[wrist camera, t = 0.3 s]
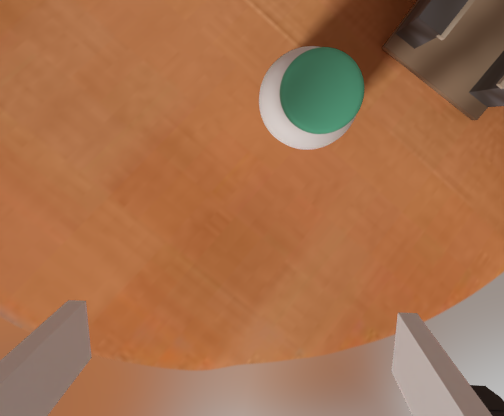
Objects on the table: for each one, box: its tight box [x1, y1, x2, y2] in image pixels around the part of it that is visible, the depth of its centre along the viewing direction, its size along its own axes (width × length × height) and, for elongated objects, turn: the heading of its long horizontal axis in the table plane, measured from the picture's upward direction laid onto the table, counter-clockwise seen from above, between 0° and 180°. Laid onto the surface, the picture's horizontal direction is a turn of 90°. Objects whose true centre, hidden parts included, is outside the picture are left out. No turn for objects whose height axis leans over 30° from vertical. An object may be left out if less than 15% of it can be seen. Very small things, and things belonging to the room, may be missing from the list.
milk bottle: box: [259, 46, 364, 150], centre depth 30 cm, size 8×8×20 cm
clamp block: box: [382, 0, 504, 120], centre depth 34 cm, size 12×12×7 cm
